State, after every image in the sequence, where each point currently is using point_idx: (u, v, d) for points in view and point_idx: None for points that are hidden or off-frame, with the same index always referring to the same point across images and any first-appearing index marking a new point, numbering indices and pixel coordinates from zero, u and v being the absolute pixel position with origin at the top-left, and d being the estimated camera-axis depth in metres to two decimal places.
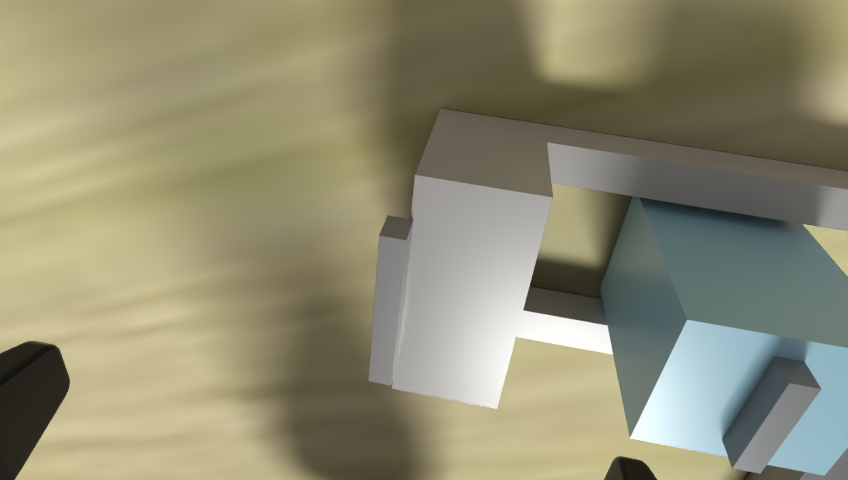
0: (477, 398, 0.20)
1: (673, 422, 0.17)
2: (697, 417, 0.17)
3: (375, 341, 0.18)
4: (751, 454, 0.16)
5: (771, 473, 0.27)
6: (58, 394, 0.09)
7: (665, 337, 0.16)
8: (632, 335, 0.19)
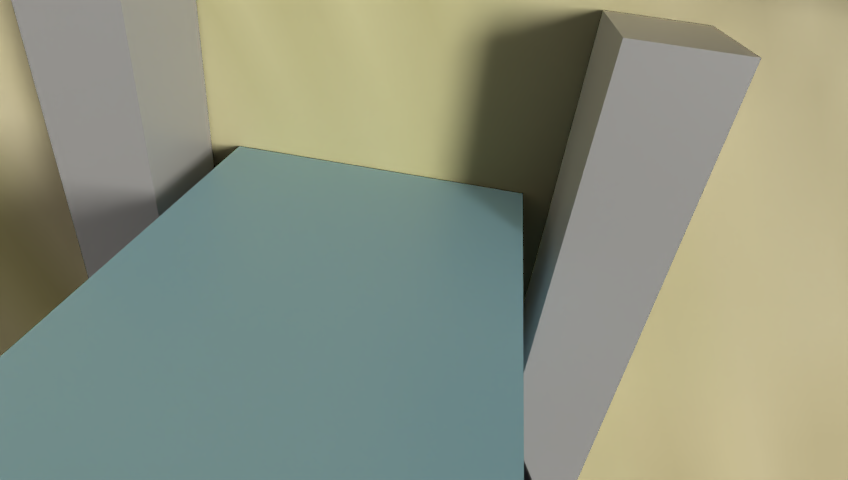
0: None
1: None
2: None
3: None
4: None
5: None
6: None
7: None
8: None
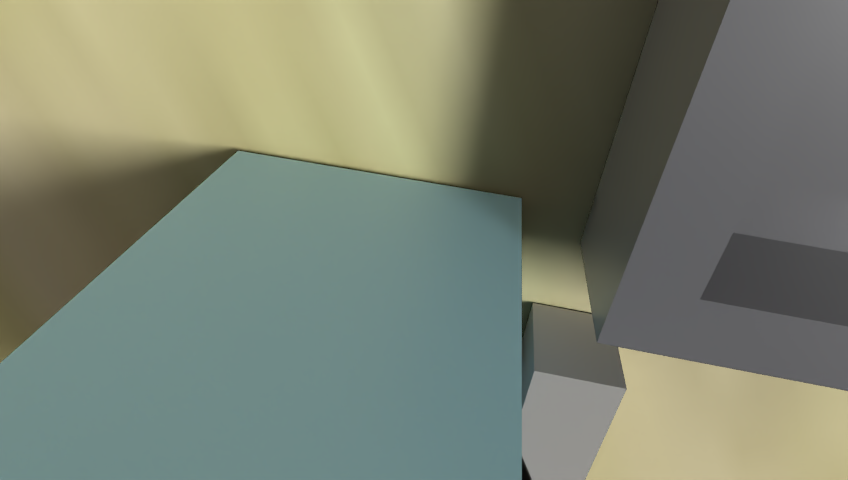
0: None
1: None
2: None
3: None
4: None
5: None
6: None
7: None
8: None
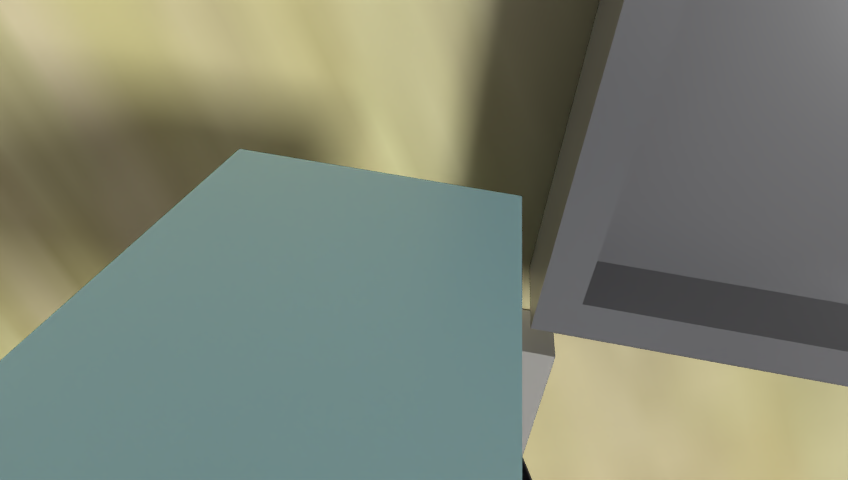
0: None
1: None
2: None
3: None
4: None
5: None
6: None
7: None
8: None
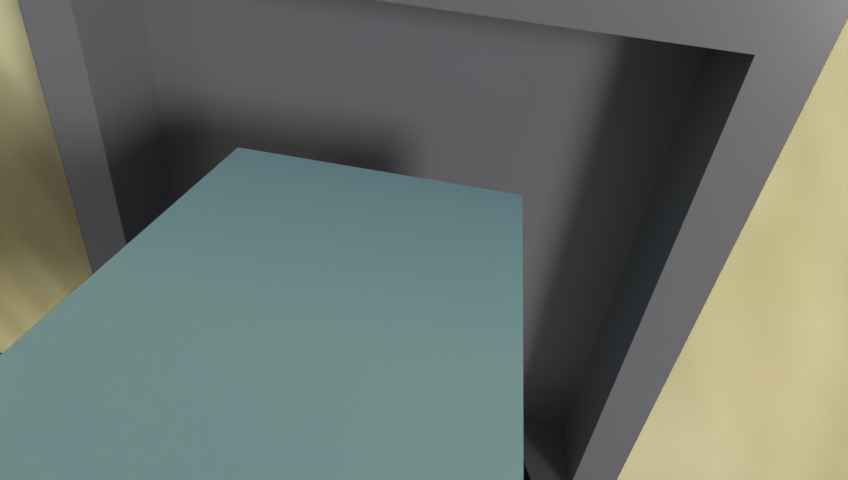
0: None
1: None
2: None
3: None
4: None
5: None
6: None
7: None
8: None
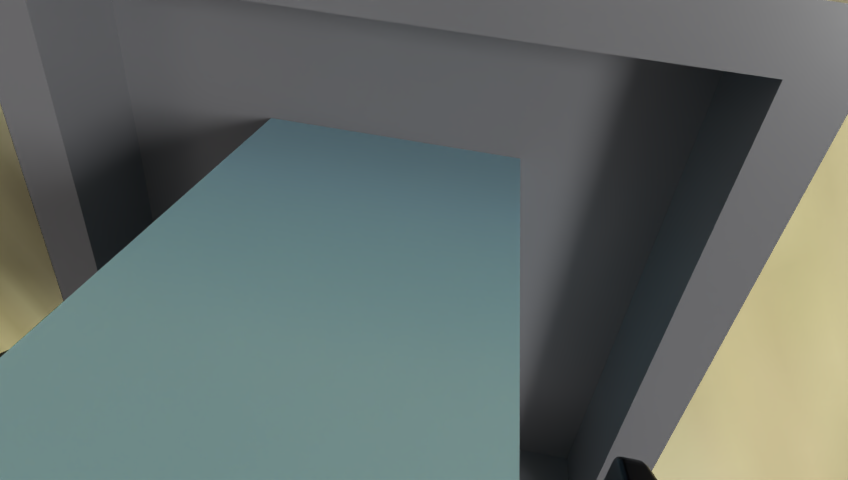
0: None
1: None
2: None
3: None
4: None
5: None
6: None
7: None
8: None
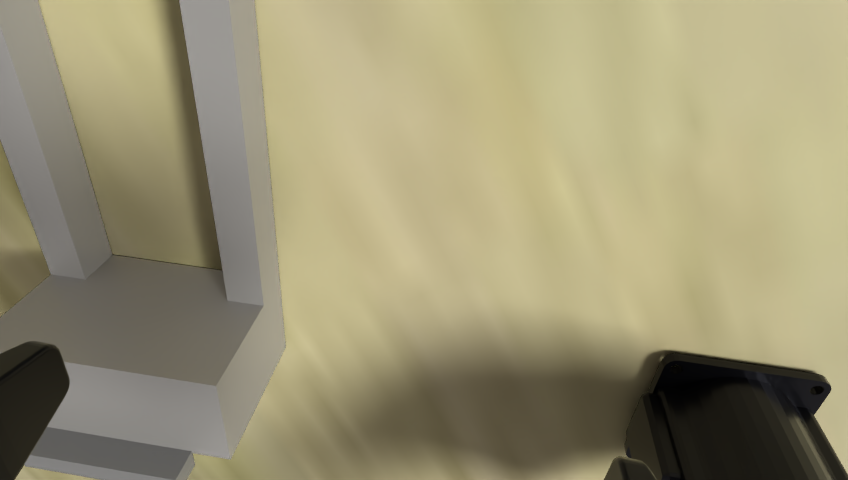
0: (209, 400, 0.19)
1: None
2: None
3: None
4: None
5: None
6: (58, 394, 0.09)
7: None
8: None
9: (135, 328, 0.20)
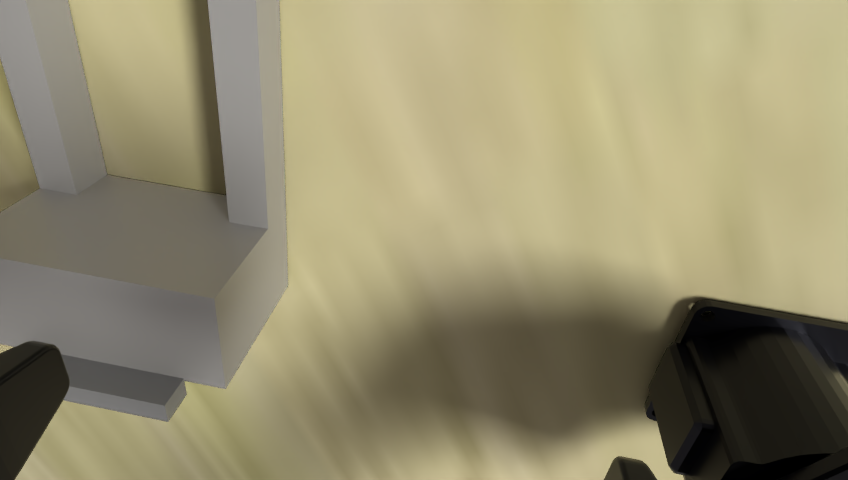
0: (206, 316, 0.17)
1: None
2: None
3: (113, 408, 0.18)
4: None
5: None
6: (58, 394, 0.09)
7: None
8: None
9: (128, 242, 0.19)
